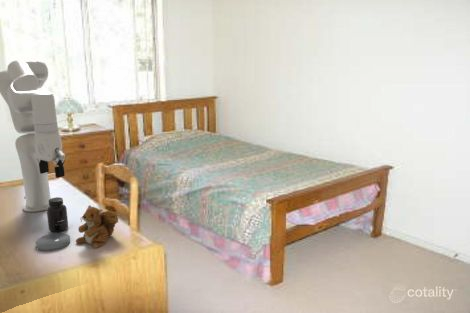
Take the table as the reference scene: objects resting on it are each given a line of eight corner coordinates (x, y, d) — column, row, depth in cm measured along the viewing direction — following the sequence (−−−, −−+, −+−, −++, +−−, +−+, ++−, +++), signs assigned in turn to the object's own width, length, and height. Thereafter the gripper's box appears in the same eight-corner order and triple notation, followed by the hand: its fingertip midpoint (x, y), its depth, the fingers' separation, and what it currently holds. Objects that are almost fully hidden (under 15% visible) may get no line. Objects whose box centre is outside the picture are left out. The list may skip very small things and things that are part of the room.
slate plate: (29, 245, 147) (29, 241, 147) (58, 234, 156) (58, 230, 156) (48, 254, 141) (47, 249, 141) (76, 241, 150) (76, 237, 149)
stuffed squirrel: (73, 244, 148) (69, 208, 145) (106, 229, 159) (103, 196, 156) (91, 251, 143) (87, 214, 139) (124, 236, 154) (121, 201, 150)
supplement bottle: (61, 234, 156) (58, 203, 153) (45, 232, 157) (41, 202, 154) (72, 226, 162) (68, 196, 159) (56, 225, 164) (52, 195, 161)
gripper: (22, 127, 152) (29, 173, 156) (50, 132, 142) (56, 181, 146) (42, 124, 158) (48, 168, 162) (70, 128, 148) (75, 175, 152)
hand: (52, 174), depth 154 cm, fingers open, 9 cm apart
